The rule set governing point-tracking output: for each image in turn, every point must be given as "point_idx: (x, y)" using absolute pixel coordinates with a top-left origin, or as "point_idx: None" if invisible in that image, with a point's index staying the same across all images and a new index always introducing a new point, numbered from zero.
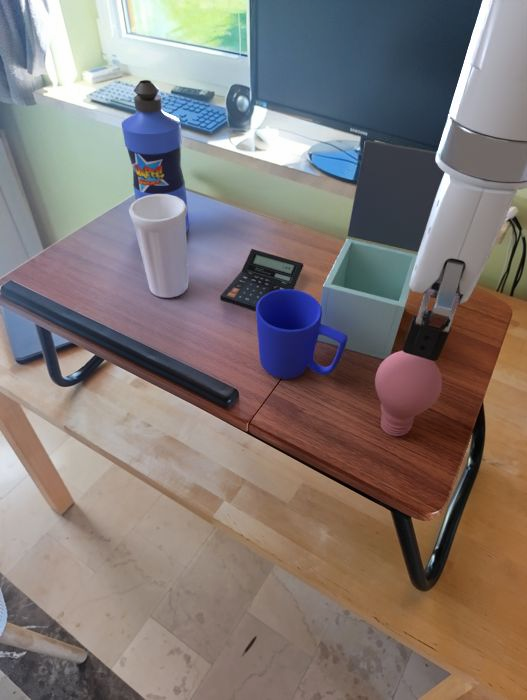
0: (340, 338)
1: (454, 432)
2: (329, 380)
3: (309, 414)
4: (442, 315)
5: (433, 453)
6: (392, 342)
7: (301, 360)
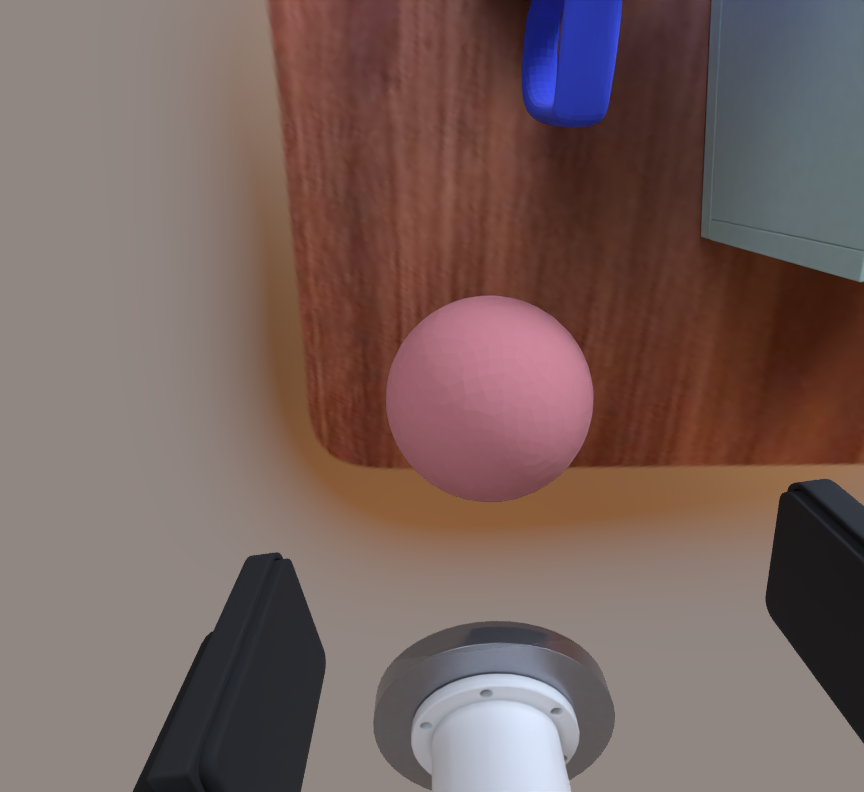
0: (568, 99)
1: None
2: None
3: (390, 111)
4: None
5: None
6: (742, 244)
7: None
